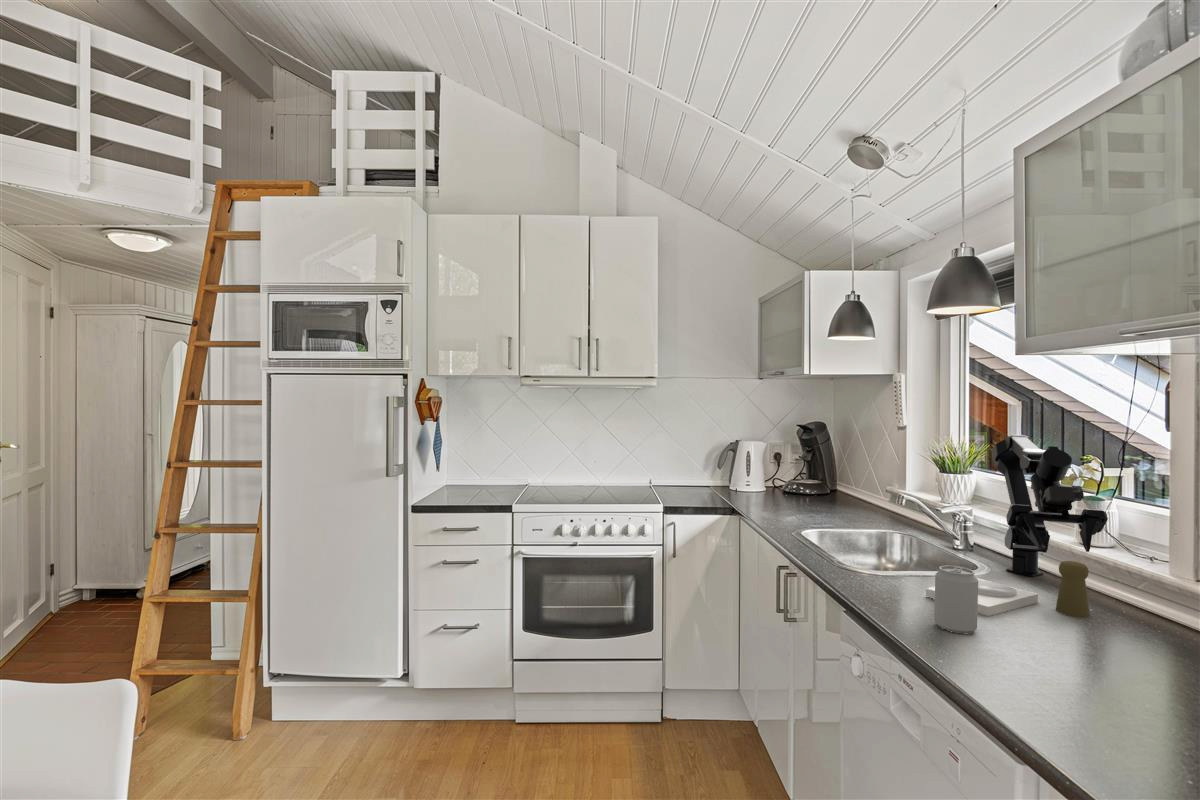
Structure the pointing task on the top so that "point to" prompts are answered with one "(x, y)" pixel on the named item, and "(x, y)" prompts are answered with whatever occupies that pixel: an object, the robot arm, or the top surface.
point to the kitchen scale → (997, 597)
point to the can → (956, 599)
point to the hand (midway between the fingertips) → (1063, 548)
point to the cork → (1073, 590)
